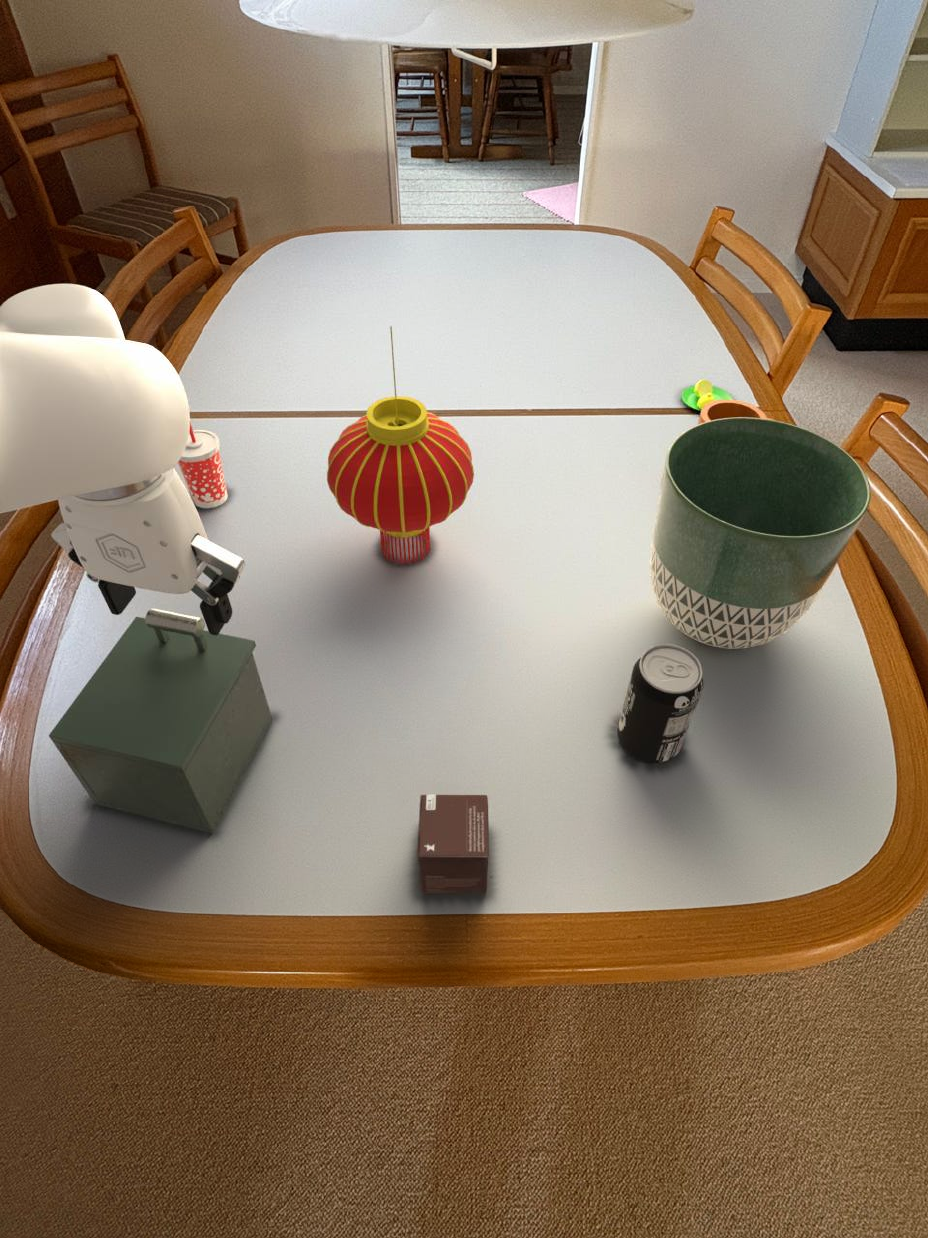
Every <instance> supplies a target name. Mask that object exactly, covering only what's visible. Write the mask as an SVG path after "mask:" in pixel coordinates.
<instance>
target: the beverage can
mask: <svg viewBox="0 0 928 1238" xmlns="http://www.w3.org/2000/svg"><path fill="white" fill-rule="evenodd" d="M704 682H705V681H704V677H703V667H702V664H701V663H700V660H699V659H698V658H697V656H695V654H694V653H692V652H691V651H690V650H688V649H687V648H684V647H683V646H679V645H676V644H671V643H660V644H656V645H653V646H651V647H649V648H647V649H646V650H644V652H643V653H642V654H641V657H639V658H638V659H637V660H636V662H635V663H634V665H633V668H632V672H631V675H630V679H629V683H628V686H627V690H626V695H625V699H624V703H623V706H622V710H621V714H620V718H619V722H618V726H617V733H616V734H617V739H618V741H619V744H620V746H621V747H622V749H623V750H624V751H625V752H626V753H627V754H628V755H629V756H631V757H632V758H633V759H635V760H637V761H640V762H643V763H646V764H652V765H653V764H663V763H667V762H669V761H671V760H673V759H674V758H675V757H676V756H677V755H678V754H679V752H680V751H681V748H682V746H683V744H684V741H685V739H686V736H687V733H688V730H689V727H690V725H691V722H692V720H693V716H694V714H695V712H696V709H697V706H698V703H699V701H700V698H701V695H702V693H703V689H704V684H705V683H704Z"/></svg>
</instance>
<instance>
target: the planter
mask: <svg viewBox="0 0 928 1238" xmlns="http://www.w3.org/2000/svg"><path fill="white" fill-rule="evenodd" d="M774 420H775V419H773V420H768V419H761V418H747V417H738V418H724V419H717V420H712V421H708V422H705V423H702V424H699V425H698V424H696V425H694V426H692V427H690V428H688V429H687V430H685V431H683V432H682V433H680V435H678V436H677V437H676V438H675V439H674V440H673V442H671V444H670V446H669V448H668V450H667V451H666V456H665V460H664V464H663V470H662V475H661V481H660V488H659V496H658V501H657V507H656V512H655V518H654V525H653V533H652V538H651V545H650V552H649V575H650V577H649V578H650V584H651V588H652V592H653V595H654V598H655V600H656V603H657V605H658V607H659V608H660V611H661V612H662V613H663V615H664V616H665V617H666V619H667V620H668V621H669V622H670V623H671V624H672V625H673V626H674V627H675V628H676V629H678V630H679V631H680V632H681V633H683V634H684V635H685V636H687V637H689V638H690V639H693V640H695V641H697V642H698V643H702V644H704V645H707V646H709V647H715V648H720V649H729V650H733V649H734V650H735V649H738V650H739V649H748V648H753V647H758V646H761V645H765V644H767V643H770V642H772V641H774V640H776V639H778V638H779V637H781V636H782V635H784V634H785V633H787V632H789V631H790V630H791V629H792V628H793V627H794V626H795V625H796V624H798V622H799V621H800V620H802V618H803V617H804V616H805V615H806V614H807V613H808V611H809V610H810V609H811V608H812V606H813V605H814V603H815V602H816V600H817V599H818V597H819V595H820V593H821V592H822V590H823V588H824V586H825V585H826V583H827V581H828V580H829V578H830V577H831V575H832V573H833V571H834V570H835V568H836V566H837V564H838V563H839V560H840V559H841V557H842V555H843V554H844V552H845V550H846V548H847V546H848V545H849V543H850V542H851V540H852V538H853V536H854V535H855V533H856V532H857V530H858V528H859V527H860V524H861V523H862V521H863V519H864V517H865V515H866V513H867V510H868V509H869V506H870V504H871V498H872V489H871V484H870V481H869V479H868V476H867V474H866V472H865V471H864V470H863V468H862V467H861V465H860V464H859V463H858V462H857V461H856V459H855V458H854V457H853V456H851V455H850V453H848V452H847V451H846V450H845V449H844V448H842V447H841V446H839V445H838V444H836V443H835V442H833V441H832V440H831V439H830V440H829V438H826V437H824V436H822V435H821V434H818V433H816V432H814V431H811V430H809V429H807V428H803V427H801V426H798V425H795V424H791V423H787V422H783V421H779V420H775V421H774Z"/></svg>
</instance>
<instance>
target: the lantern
mask: <svg viewBox="0 0 928 1238" xmlns="http://www.w3.org/2000/svg"><path fill="white" fill-rule="evenodd" d="M389 329H390V342H391V357H392V371H393V373H392V374H393V388H394V396H388V397H384V398H381V399H378V400H376V401H375V402H372V404H371V405H370V406H369V407H368V408H367V410H366V414H365V415H363V416H360V418H359V419H357V421H355V422H354V423H352V424H350V425H348V426H347V427H345V429H343V430H342V431H341V434H339V437H338V439H337V440H336V441H335V442H334V443H333V445H332V447H331V448H330V450H329V453H328V457H327V466H328V467H327V470H326V482H327V486H328V488H329V491H330V492H331V493H332V495H333V496H334V498H335V500H336V504H337V505H338V506H339V508H340V509H341V511H343V512H344V513H345V514H346V515H349V516H351V517H352V518H354V520H356V521H357V522H358V523H359V524H360V525H362V526H364V527H367V528H373V529H377V530H379V535H380V536H379V537H380V538H379V539H380V547H381V552H382V554H383V557H386V559H388V560H389V561H390V562H391V561H392V563H395V562H396V564H397V565H398V564H399V563H400V565H402V564H403V562H404V565H407V562H408V564H409V565H411V564H416V562H417V563H418V562H419V561H423V559H425V558H426V557H427V556H428V554H429V553H430V551H431V530H430V528H431V527H432V526H435V525H437V524H442V523H443V522H445V521H446V520H447V519H448V518H449V517H450V515H452V514H453V513H454V512H455V511H457V510H459V509H460V508H461V507H462V506H463V504H464V503H465V501H466V498H467V495H468V492H469V490H471V487H472V485H473V483H474V478H475V470H474V465H473V457H472V456H473V455H472V450H471V449H470V446H469V444H468V443H467V442H466V440H465V439H464V438H463V437H462V436H461V435H460V433H459V431H458V430H457V428H456V427H455V426H454V425H453V424H451V423H450V422H448V421H446V420H443V419H441V418H440V417H439V416H437V415H436V414H435V413H432V412H428V410H427V408H426V406H425V404H423V402H421V401H420V400H418V399H415V398H412V397H407V396H401V395H398V396H397V386H396V372H395V356H394V354H395V353H394V341H393V327H392V325H390V327H389ZM393 538H394V539H393ZM397 538H398V539H397ZM401 538H402V539H401ZM410 538H411V539H410ZM418 538H419V539H418ZM397 540H398V542H397ZM410 540H411V544H410ZM418 540H419V541H418ZM418 542H419V543H418ZM397 543H398V544H397ZM406 543H407V547H406ZM402 547H403V551H402ZM390 548H391V549H390ZM394 551H395V553H394ZM398 552H399V557H398ZM402 552H403V553H402ZM411 554H412V558H411ZM415 555H416V556H415ZM419 555H420V556H419ZM407 557H408V561H407ZM419 558H420V559H419ZM391 559H392V560H391ZM411 560H412V561H411Z"/></svg>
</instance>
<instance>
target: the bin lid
mask: <svg viewBox="0 0 928 1238" xmlns="http://www.w3.org/2000/svg"><path fill="white" fill-rule="evenodd" d="M205 626H206V623H205V620H204V618H202V617H198V616H193V615H187V614H183V613H179V612H178V613H177V612H174V611H168V610H164V609H159V608H149V610H147V612H146V614H145V617H141V616H135V617H134V619H133V620H132V621H131V623H130V624H129V626H128V627H127V628H126V630H125V631H124V632H123V634H122V635H121V636H120V638H119V639H118V641H117V642H116V643H115V645H114V646H113V647H112V649H111V650H110V652H109V653H108V654H107V656H106V657H105V658H104V660H103V661H102V662H101V664H100V665H99V666H98V668H97V669H96V670H95V672H93V674H92V676H91V677H90V678H89V680H88V681H87V683H86V684H85V685H84V687H83V688H82V690H81V691H80V692H79V694H78V695H77V696H76V698H75V699H74V700H73V702H72V703H71V704H70V705H69V707H68V708H67V710H66V711H65V713H63V715H62V717H61V718H60V719H59V721H57V724H56V725H55V726H54V728H53V729H52V730H51V731H50V733H49V734H48V738H49V739H50V740H51V741H52V742H53V741H55V742H60V743H64V744H68V745H72V746H76V747H81V748H85V749H89V750H93V751H97V752H102V753H106V754H110V755H114V756H118V757H123V758H127V759H131V760H135V761H139V762H144V763H148V764H152V765H156V766H160V767H165V768H169V769H173V770H177V771H182V772H184V771H185V769H186V767H187V765H188V764H189V762H190V760H191V758H192V757H193V755H194V753H195V752H196V750H197V748H198V746H199V745H200V743H201V741H202V739H203V738H204V736H205V734H206V732H207V731H208V729H209V727H210V725H211V724H212V722H213V720H214V718H215V717H216V715H217V713H218V711H219V710H220V708H221V706H222V705H223V703H224V701H225V699H226V698H227V696H228V694H229V692H230V691H231V689H232V687H233V685H234V684H235V682H236V680H237V678H238V677H239V675H240V673H241V671H242V670H243V668H244V666H245V665H246V663H247V661H248V659H249V658H250V656H251V654H252V653H254V651H255V649H256V647H257V643H256V641H255V640H253V639H249V638H244V637H239V636H234V635H230V634H224V633H220V632H219V634H218V635H217V636H216V635H211V634H210V633H209V631H208V630H206V629H205Z"/></svg>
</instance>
